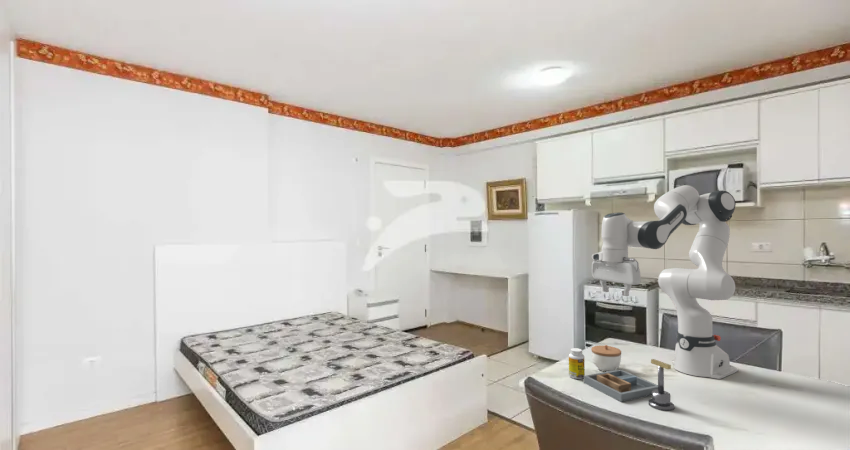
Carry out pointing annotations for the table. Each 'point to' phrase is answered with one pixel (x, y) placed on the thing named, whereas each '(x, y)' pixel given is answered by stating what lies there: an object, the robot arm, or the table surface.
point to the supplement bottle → (576, 364)
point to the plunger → (661, 390)
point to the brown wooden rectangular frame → (618, 381)
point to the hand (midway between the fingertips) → (615, 293)
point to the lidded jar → (606, 357)
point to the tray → (637, 391)
